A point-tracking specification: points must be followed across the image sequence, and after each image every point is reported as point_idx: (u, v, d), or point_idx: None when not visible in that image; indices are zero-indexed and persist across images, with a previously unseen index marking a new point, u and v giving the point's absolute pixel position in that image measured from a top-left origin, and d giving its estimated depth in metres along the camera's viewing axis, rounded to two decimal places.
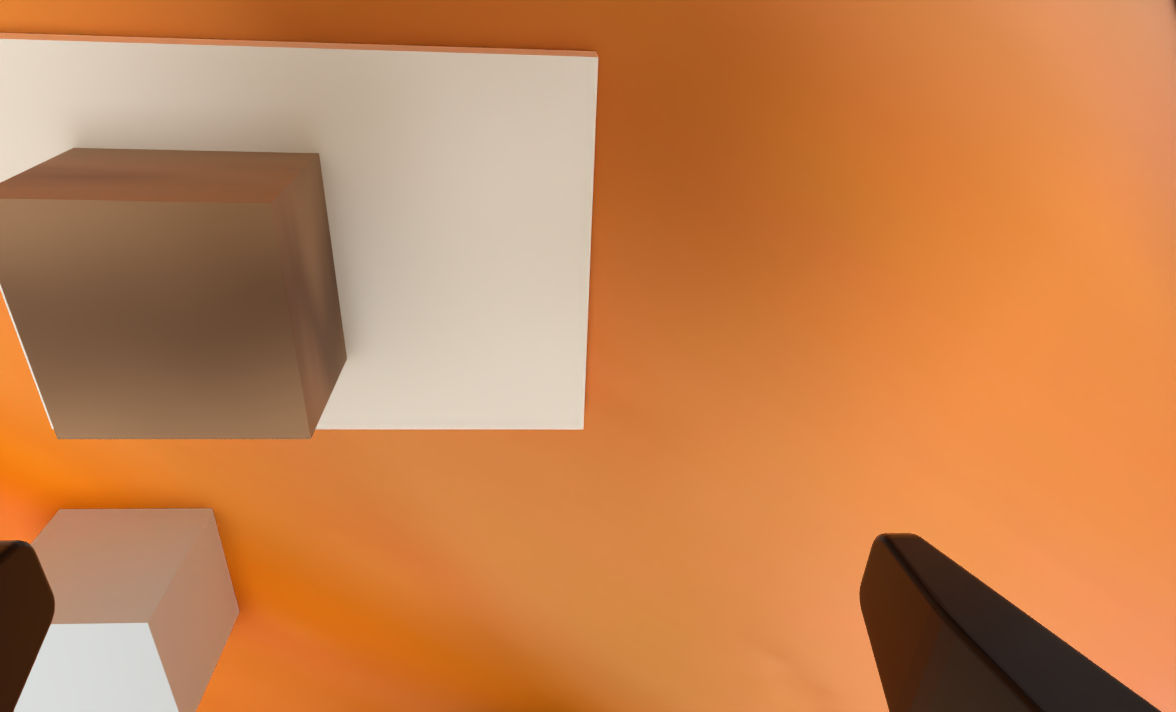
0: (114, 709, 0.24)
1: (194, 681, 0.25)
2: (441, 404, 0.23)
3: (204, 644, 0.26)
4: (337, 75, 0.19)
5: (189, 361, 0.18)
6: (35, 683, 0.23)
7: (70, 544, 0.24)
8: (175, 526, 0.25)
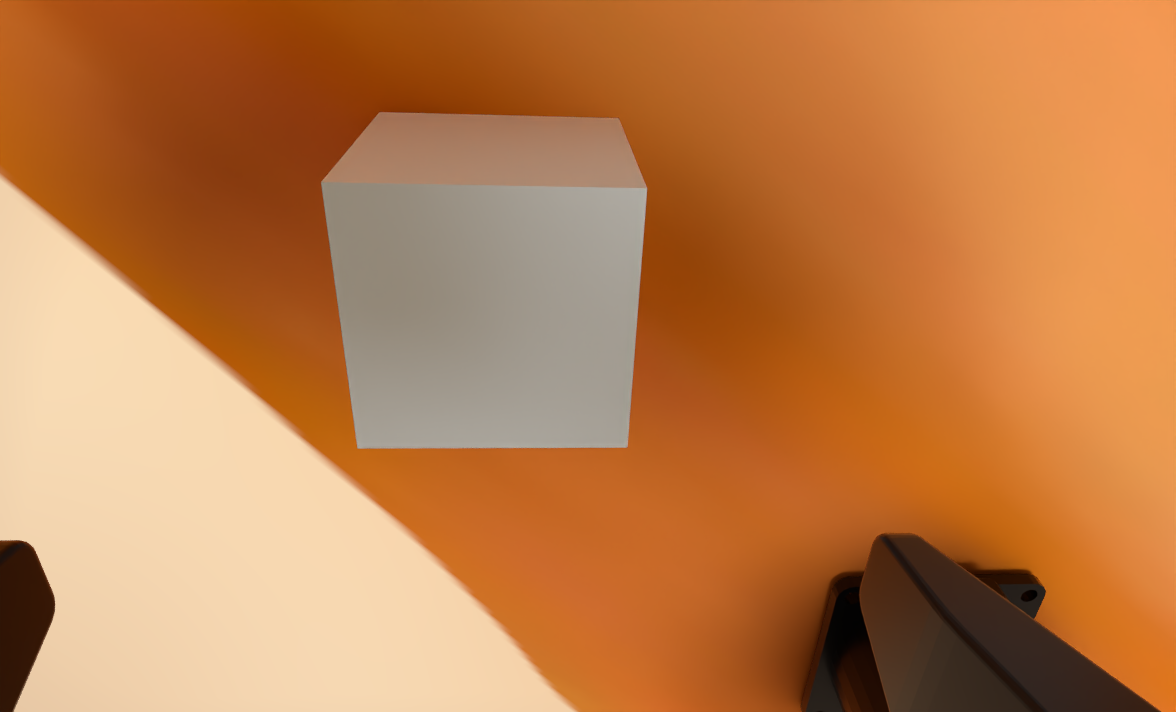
0: (526, 392, 0.14)
1: None
2: None
3: None
4: None
5: None
6: (411, 328, 0.13)
7: (429, 132, 0.15)
8: (580, 126, 0.15)
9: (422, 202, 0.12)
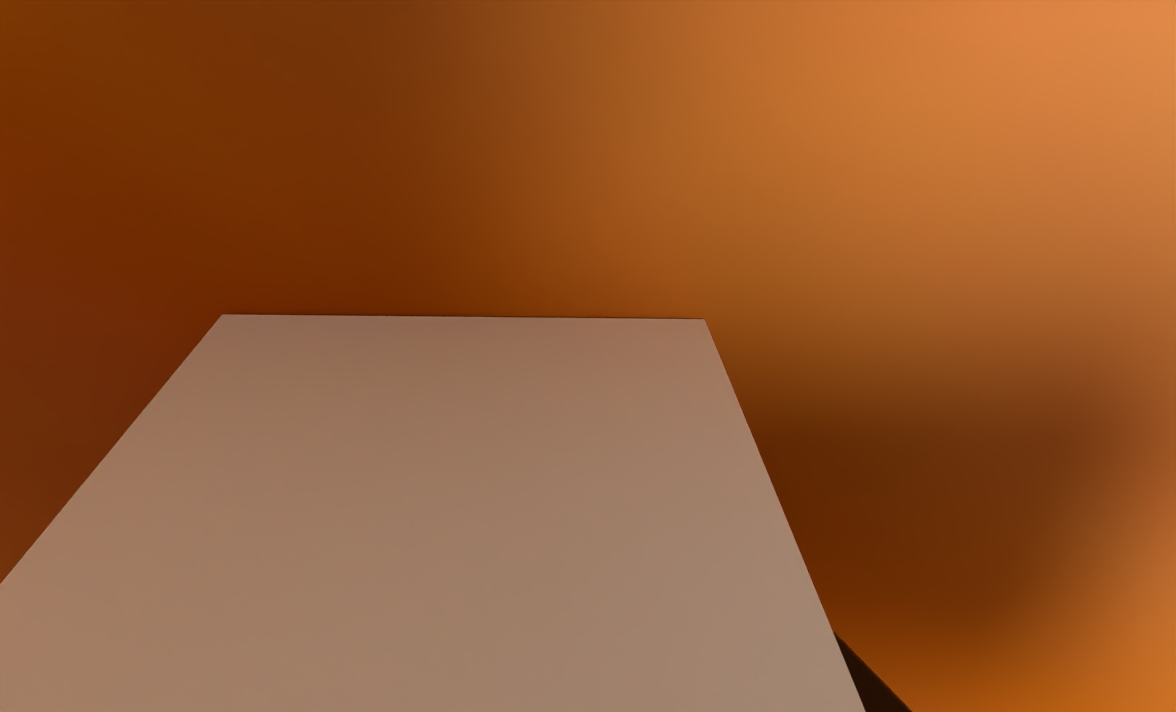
0: None
1: None
2: None
3: None
4: None
5: None
6: None
7: (296, 410, 0.06)
8: (634, 364, 0.07)
9: None
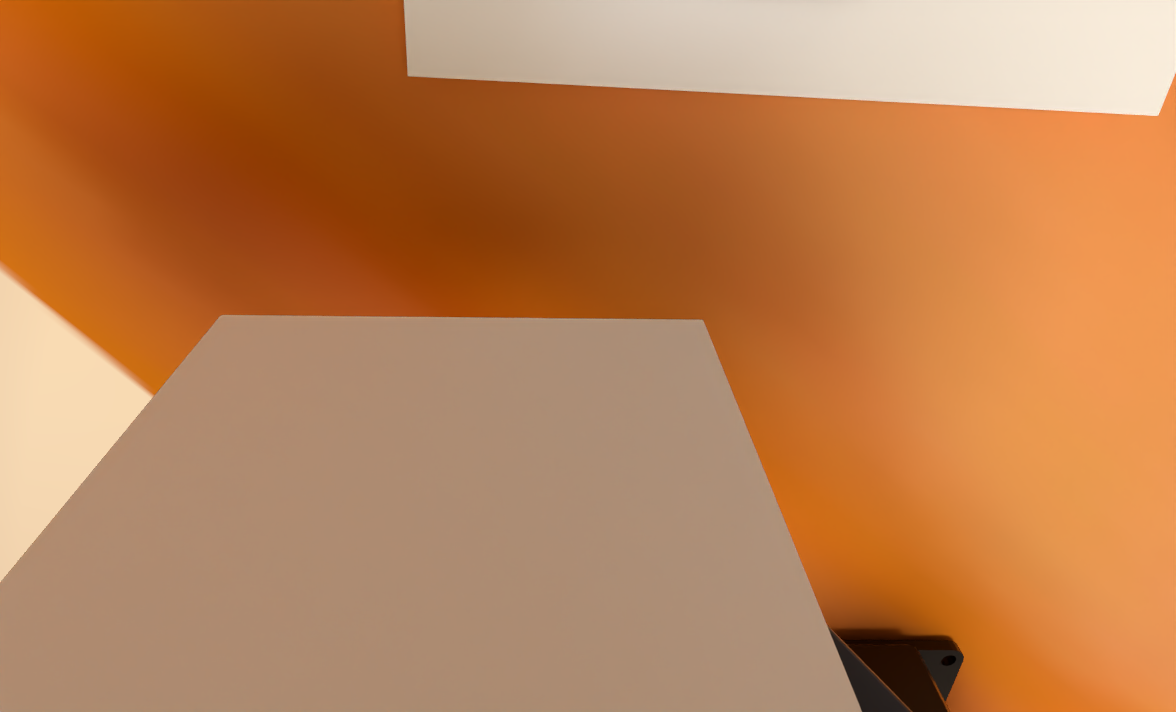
0: None
1: None
2: (977, 59, 0.16)
3: None
4: None
5: None
6: None
7: (295, 411, 0.06)
8: (633, 365, 0.07)
9: None
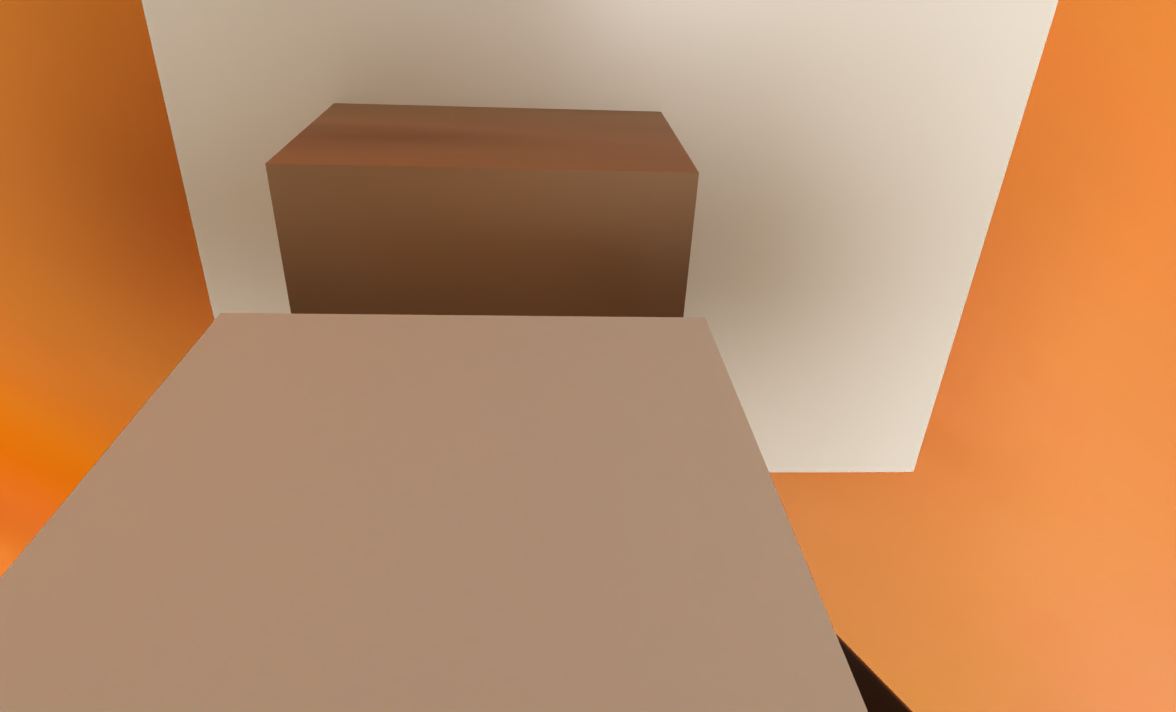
0: None
1: None
2: None
3: None
4: (708, 1, 0.13)
5: None
6: None
7: (295, 409, 0.06)
8: (635, 363, 0.07)
9: None
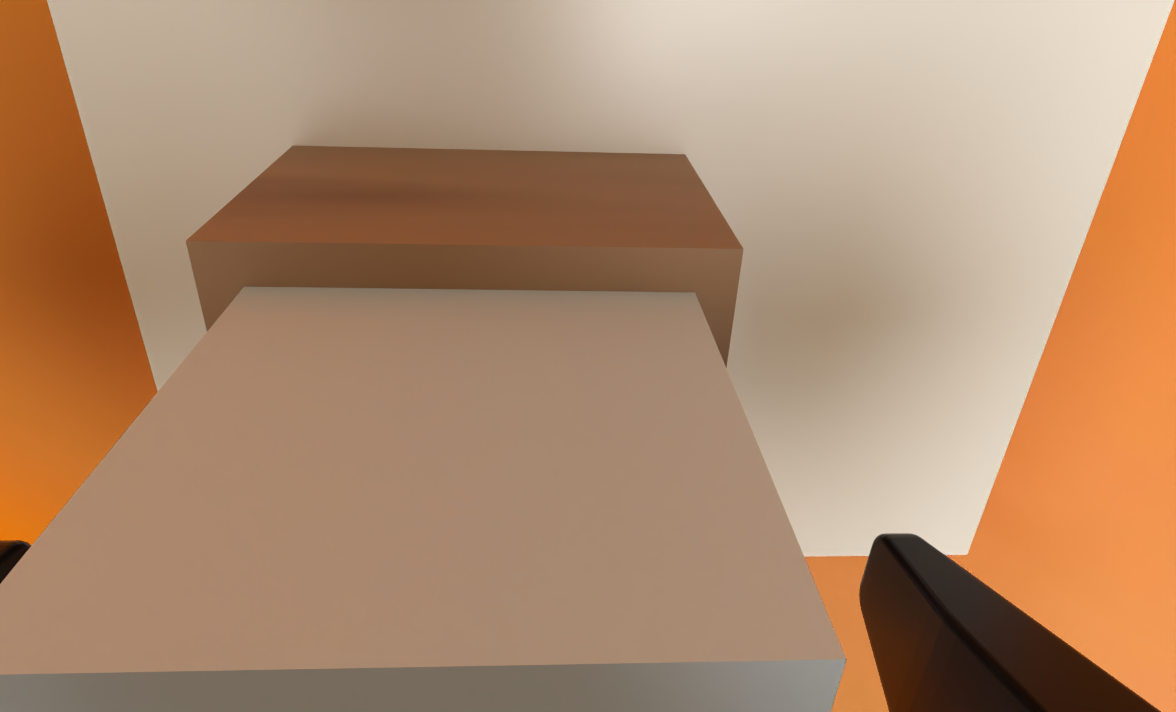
0: None
1: None
2: None
3: None
4: (744, 25, 0.11)
5: None
6: None
7: (317, 369, 0.07)
8: (629, 331, 0.08)
9: (226, 707, 0.04)
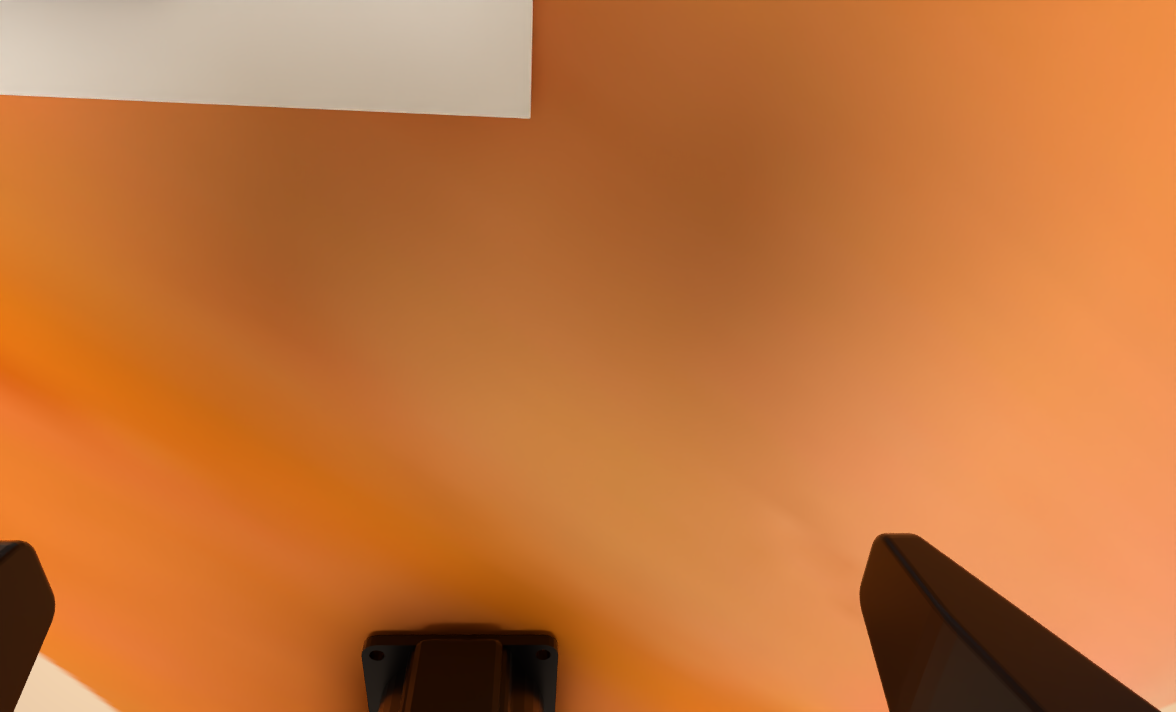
0: None
1: None
2: (319, 63, 0.16)
3: None
4: None
5: None
6: None
7: None
8: None
9: None
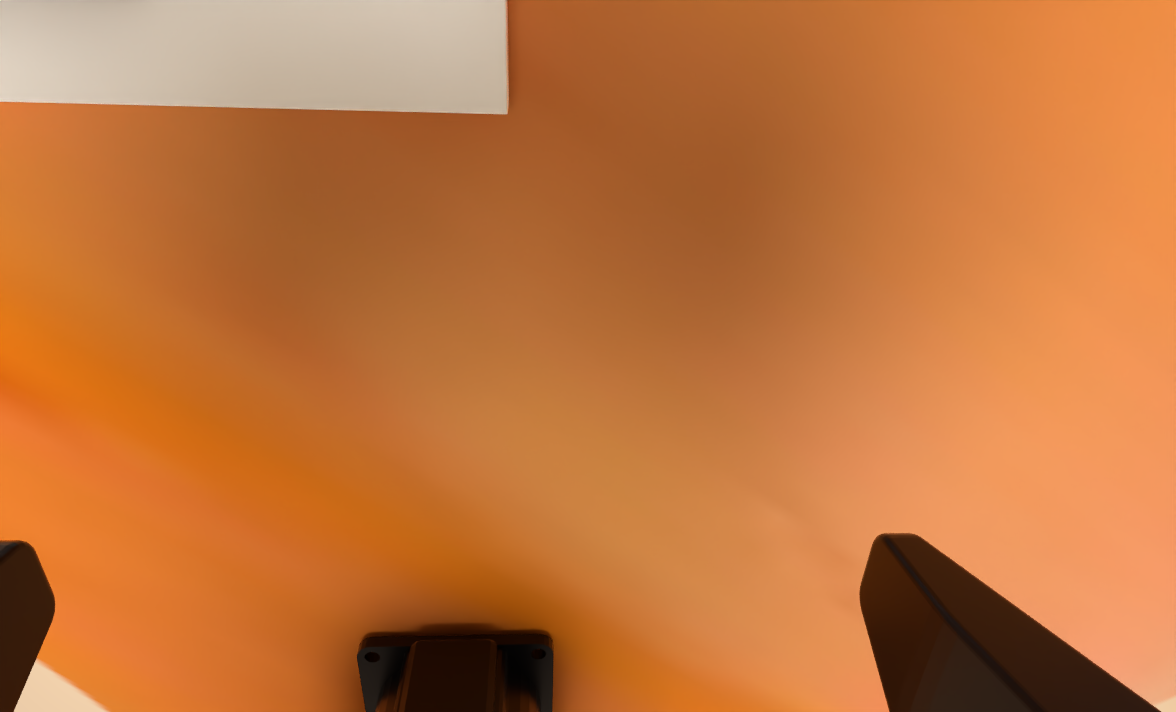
0: None
1: None
2: (296, 63, 0.16)
3: None
4: None
5: None
6: None
7: None
8: None
9: None
